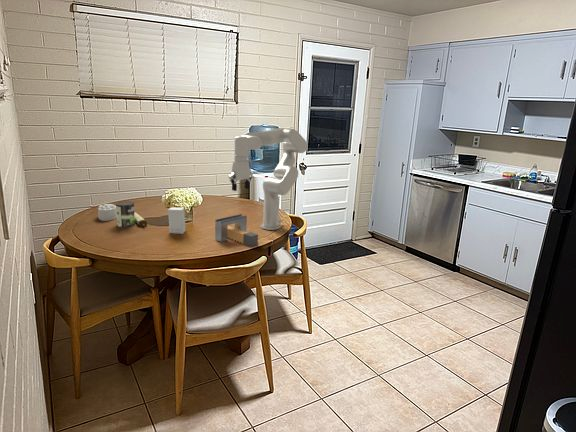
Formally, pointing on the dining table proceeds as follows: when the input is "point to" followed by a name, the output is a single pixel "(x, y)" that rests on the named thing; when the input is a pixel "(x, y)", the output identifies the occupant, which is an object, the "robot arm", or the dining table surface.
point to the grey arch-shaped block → (223, 223)
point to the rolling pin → (140, 220)
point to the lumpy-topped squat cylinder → (107, 212)
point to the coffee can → (125, 214)
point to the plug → (243, 236)
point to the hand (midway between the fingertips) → (240, 189)
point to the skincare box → (176, 220)
